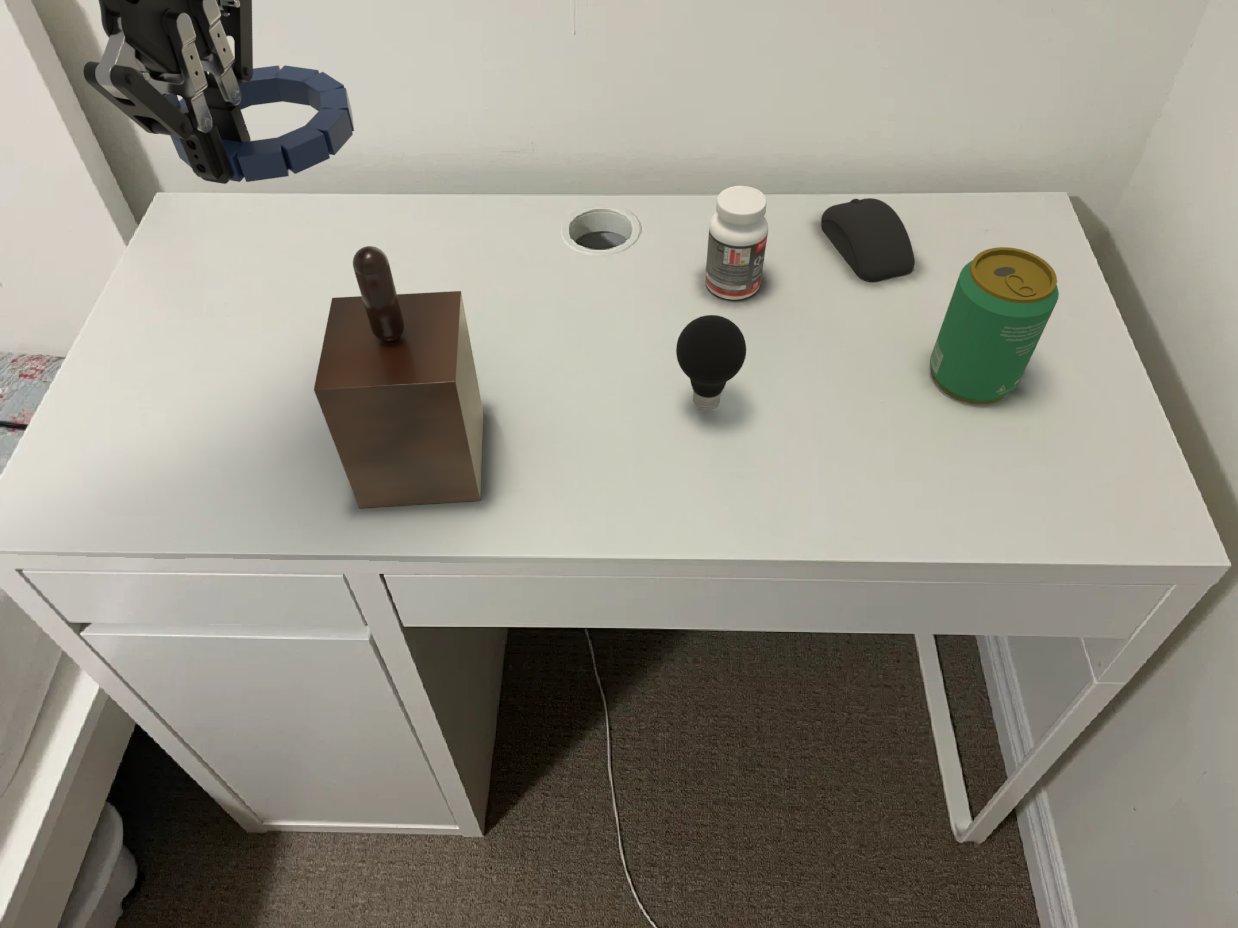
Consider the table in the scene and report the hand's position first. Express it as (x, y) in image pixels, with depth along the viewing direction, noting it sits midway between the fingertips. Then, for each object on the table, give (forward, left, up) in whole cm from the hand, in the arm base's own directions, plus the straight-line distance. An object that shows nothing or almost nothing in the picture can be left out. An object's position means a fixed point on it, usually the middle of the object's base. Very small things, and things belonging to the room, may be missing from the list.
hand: (227, 168), depth 59 cm
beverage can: (+58, +3, -27) cm, 64 cm away
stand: (+8, -3, -27) cm, 28 cm away
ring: (+2, +5, 0) cm, 5 cm away
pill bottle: (+38, +18, -27) cm, 50 cm away
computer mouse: (+53, +23, -27) cm, 64 cm away
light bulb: (+33, +1, -27) cm, 43 cm away
